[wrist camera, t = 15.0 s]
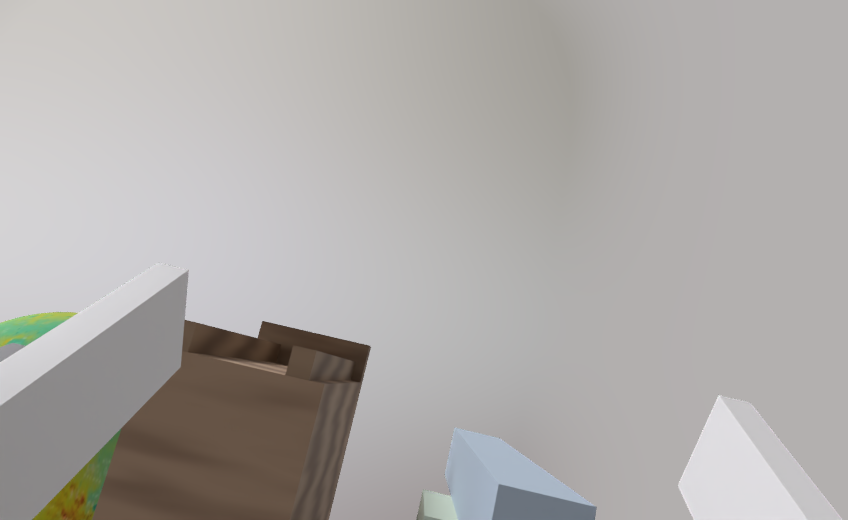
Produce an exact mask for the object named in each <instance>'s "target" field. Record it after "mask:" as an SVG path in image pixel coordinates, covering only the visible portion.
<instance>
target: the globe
mask: <svg viewBox="0 0 848 520" xmlns="http://www.w3.org/2000/svg"><path fill="white" fill-rule="evenodd" d="M76 314H77V313H71V312H53V313H41V314H34V315H29V316H23V317H19V318H15V319H12V320H8V321H5V322H2V323H0V347H2V346H5V345H8V344H11V343H16V344H20V345H24V346H27V345H28V344H30V343H31V342H33V341H35V340H36V339H38V338H39V337H41V336H43V335H44V334H46V333H47V332H49V331H50V330H52V329H54V328H55V327H57V326H58V325H60V324H62V323H63V322H65V321H66V320H68V319H70V318H71V317H73V316H74V315H76ZM120 431H121V429H120V430H119V431H118V432H117V433H116V434H115V435H114V436H113V437H112V438H111V439H110V440H109V441H108V442H107V443H106V444H105V445H104V446H103V447H102V448H101V449H100V450H99V452H98V453H97V454H96V455H95V456H94V457H93V458H92V459H91V460H90V461H89V462H88V463H87V464H86V465H85V466H84V467H83V468H82V469H81V470H80V471H79V472H78V473H77V474H76V475H75V476H74V477H73V478H72V479H71V480H70V481H69V482H68V483H67V484H66V485H65V486H64V487H63V489H62V490H61V491H60V492H59V493H58V494H57V495H56V496H55V497H54V498H53V499H52V500H51V501H50V502H49V503H48V504H47V505H46V506H45V507H44V508H43V509H42V510H41V511H40V512H39V513H38V514H37V515H36V516H35V517H34V518H33V519H32V520H92V518H93V515H94V512H95V509H96V506H97V503H98V500H99V497H100V494H101V490H102V487H103V484H104V481H105V478H106V475H107V472H108V469H109V466H110V462H111V459H112V456H113V453H114V450H115V447H116V444H117V441H118V438H119V435H120Z"/></svg>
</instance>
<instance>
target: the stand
mask: <svg viewBox="0 0 848 520" xmlns="http://www.w3.org/2000/svg"><path fill="white" fill-rule="evenodd" d="M370 348H371V347H370V346H368V345H364V344H359V343H355V342H351V341H347V340H342V339H338V338H334V337H329V336H325V335H321V334H316V333H312V332H308V331H303V330H299V329H295V328H290V327H286V326H282V325H277V324H273V323H269V322H264V321H263V322H262V325H261V328H260V332H259V335H258V338H254V337H250V336H246V335H242V334H238V333H234V332H231V331H227V330H223V329H219V328H215V327H211V326H207V325H204V324H200V323H196V322H191V321H187V320H184V333H183V345H182V357H181V367H180V368H179V369H178V370H177V371H176V372H175V373H174V374H173V375H172V376H171V378H170V379H169V380H168V381H167V382H166V383H165V384H164V385H163V386H162V387H161V388H160V389H159V390H158V391H157V392H156V393H155V394H154V395H153V396H152V397H151V398H150V399H149V400H148V401H147V402H146V403H145V404H144V405H143V406H142V407H141V408H140V409H139V410H138V411H137V412H136V413H135V415H134V416H133V417H132V418H131V419H130V420H129V421H128V422H127V423H126V424H125V425H124V426H123V427H122V428H121V431H120V435H119V438H118V441H117V444H116V447H115V450H114V453H113V456H112V459H111V462H110V466H109V469H108V472H107V475H106V478H105V481H104V484H103V487H102V490H101V494H100V497H99V500H98V503H97V506H96V509H95V512H94V515H93V518H92V520H328V519H329V516H330V512H331V508H332V504H333V500H334V495H335V491H336V487H337V483H338V479H339V475H340V471H341V467H342V463H343V459H344V455H345V450H346V446H347V442H348V438H349V434H350V430H351V426H352V422H353V418H354V414H355V410H356V405H357V401H358V397H359V393H360V389H361V385H362V381H363V377H364V372H365V369H366V365H367V360H368V356H369V352H370Z"/></svg>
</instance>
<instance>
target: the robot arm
mask: <svg viewBox="0 0 848 520" xmlns="http://www.w3.org/2000/svg"><path fill="white" fill-rule="evenodd" d="M188 271H189V270H187V269H183V268H178V267H175V266H170V265H166V264H161V263H157V264H155V265H154V266H152V267H151V268H149V269H147V270H146V271H144V272H143V273H141V274H140V275H138V276H136V277H135V278H133V279H131V280H130V281H128V282H127V283H125V284H123V285H122V286H120V287H119V288H117V289H115V290H114V291H112V292H111V293H109V294H108V295H106V296H104V297H103V298H101V299H100V300H98V301H97V302H95V303H93V304H92V305H90V306H89V307H87V308H85V309H84V310H82V311H81V312H79V313H77V314H76V315H74V316H73V317H71V318H70V319H68V320H66V321H65V322H63V323H62V324H60V325H58V326H57V327H55V328H54V329H52V330H50V331H49V332H47V333H46V334H44V335H43V336H41V337H39V338H38V339H36V340H35V341H33V342H31V343H30V344H28V345H27V346H24V345H20V344H16V343H11V344H8V345H5V346H2V347H0V520H32V519H33V518H34V517H35V516H36V515H37V514H38V513H39V512H40V511H41V510H42V509H43V508H44V507H45V506H46V505H47V504H48V503H49V502H50V501H51V500H52V499H53V498H54V497H55V496H56V495H57V494H58V493H59V492H60V491H61V490H62V489H63V487H64V486H65V485H66V484H67V483H68V482H69V481H70V480H71V479H72V478H73V477H74V476H75V475H76V474H77V473H78V472H79V471H80V470H81V469H82V468H83V467H84V466H85V465H86V464H87V463H88V462H89V461H90V460H91V459H92V458H93V457H94V456H95V455H96V454H97V453H98V452H99V450H100V449H101V448H102V447H103V446H104V445H105V444H106V443H107V442H108V441H109V440H110V439H111V438H112V437H113V436H114V435H115V434H116V433H117V432H118V431H119V430H120V429H121V428H122V427H123V426H124V425H125V424H126V423H127V422H128V421H129V420H130V419H131V418H132V417H133V416H134V415H135V413H136V412H137V411H138V410H139V409H140V408H141V407H142V406H143V405H144V404H145V403H146V402H147V401H148V400H149V399H150V398H151V397H152V396H153V395H154V394H155V393H156V392H157V391H158V390H159V389H160V388H161V387H162V386H163V385H164V384H165V383H166V382H167V381H168V380H169V379H170V378H171V376H172V375H173V374H174V373H175V372H176V371H177V370H178V369H179V368H180V367H181V357H182V345H183V333H184V320H185V308H186V295H187V283H188ZM678 487H679V489H680V492H681V493H682V496H683V498H684V500H685V502H686V505H687V507H688V509H689V511H690V513H691V515H692V517H693V519H694V520H843V519H842V518H841V517H840V516H839V514H838V513H837V512H836V510H835V509H834V508H833V507H832V505H831V504H830V503H829V502H828V500H827V499H826V498H825V497H824V495H823V494H822V493H821V492H820V490H819V489H818V488H817V486H816V485H815V484H814V483H813V482H812V480H811V479H810V478H809V476H808V475H807V474H806V472H805V471H804V470H803V469H802V468H801V466H800V465H799V464H798V462H797V461H796V460H795V459H794V457H793V456H792V455H791V454H790V452H789V451H788V450H787V449H786V447H785V446H784V445H783V443H782V442H781V441H780V440H779V438H778V437H777V436H776V435H775V433H774V432H773V431H772V430H771V428H770V427H769V426H768V424H767V423H766V422H765V421H764V419H763V418H762V417H761V415H760V414H759V413H758V412H757V410H756V409H755V408H754V407H753V406H752V404H751V403H750V402H746V401H742V400H738V399H733V398H729V397H725V396H721V395H719V396H718V398H717V400H716V402H715V405H714V407H713V409H712V411H711V413H710V416H709V418H708V420H707V422H706V424H705V427H704V429H703V431H702V433H701V436H700V438H699V440H698V442H697V444H696V446H695V449H694V451H693V453H692V455H691V458H690V460H689V462H688V464H687V466H686V469H685V471H684V473H683V475H682V478H681V480H680V482H679V484H678Z"/></svg>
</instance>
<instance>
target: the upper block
mask: <svg viewBox="0 0 848 520" xmlns="http://www.w3.org/2000/svg"><path fill="white" fill-rule="evenodd" d="M417 520H458V518H457V515H456V511H455V508H454V504H453V501H452V498H451V496H448V495H444V494H440V493H436V492H432V491H427V490H423V492H422V497H421V501H420V506H419V511H418V515H417Z"/></svg>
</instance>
